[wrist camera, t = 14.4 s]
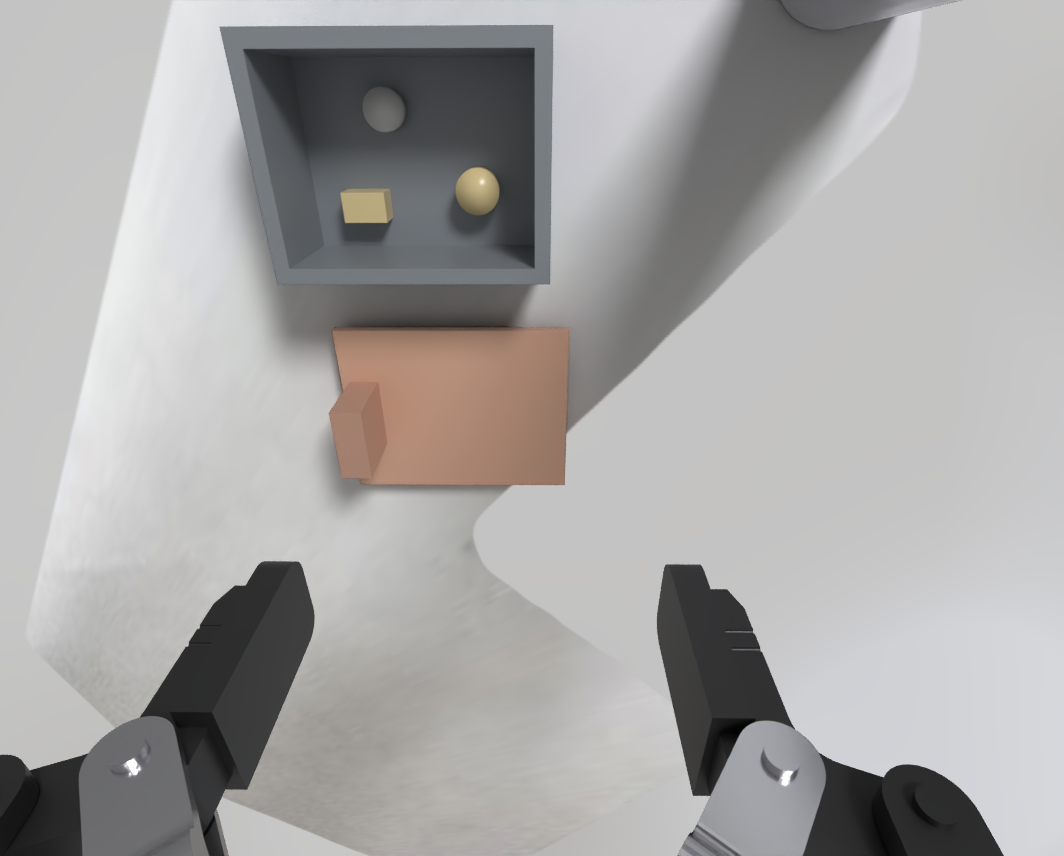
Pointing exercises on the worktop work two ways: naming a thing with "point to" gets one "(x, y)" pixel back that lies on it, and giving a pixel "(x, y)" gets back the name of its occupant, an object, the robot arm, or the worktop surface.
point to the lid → (452, 405)
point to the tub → (399, 150)
